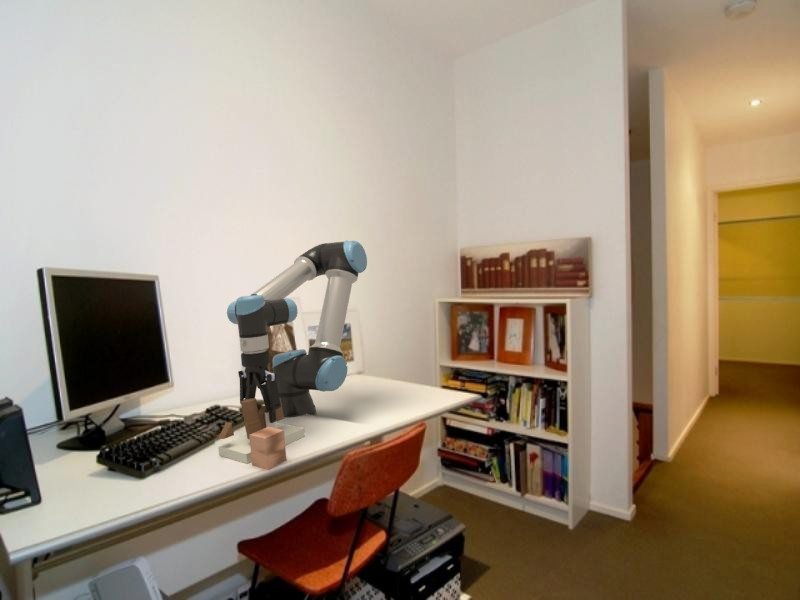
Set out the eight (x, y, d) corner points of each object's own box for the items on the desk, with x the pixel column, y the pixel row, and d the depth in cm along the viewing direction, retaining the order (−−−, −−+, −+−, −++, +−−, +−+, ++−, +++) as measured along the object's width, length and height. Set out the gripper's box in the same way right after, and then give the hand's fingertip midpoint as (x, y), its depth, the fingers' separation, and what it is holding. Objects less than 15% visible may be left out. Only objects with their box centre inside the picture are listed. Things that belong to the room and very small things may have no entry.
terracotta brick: (271, 456, 116) (268, 426, 116) (286, 460, 113) (283, 430, 112) (252, 465, 111) (249, 434, 111) (267, 470, 108) (264, 438, 107)
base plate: (277, 430, 136) (276, 422, 135) (304, 436, 129) (303, 427, 129) (219, 455, 119) (218, 446, 119) (247, 463, 112) (246, 454, 112)
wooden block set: (276, 423, 132) (269, 389, 132) (293, 424, 126) (286, 389, 127) (219, 444, 118) (212, 407, 118) (235, 446, 112) (228, 407, 113)
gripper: (221, 351, 125) (229, 430, 126) (268, 355, 113) (275, 442, 115) (243, 346, 131) (250, 421, 133) (290, 350, 120) (297, 432, 121)
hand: (262, 431), depth 124 cm, fingers closed on wooden block set, 7 cm apart
